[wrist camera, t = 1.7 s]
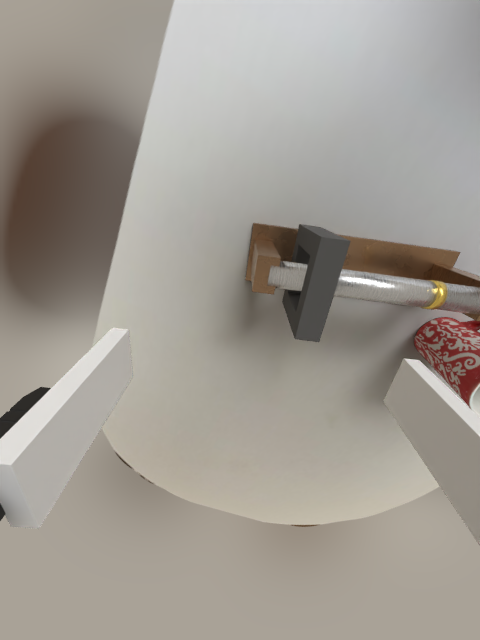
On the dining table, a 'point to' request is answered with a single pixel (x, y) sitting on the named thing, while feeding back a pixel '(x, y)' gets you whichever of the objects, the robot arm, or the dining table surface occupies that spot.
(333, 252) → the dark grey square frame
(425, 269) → the pipe rig
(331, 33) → the dining table surface
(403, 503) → the dining table surface
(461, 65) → the dining table surface
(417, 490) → the dining table surface
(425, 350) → the mug
